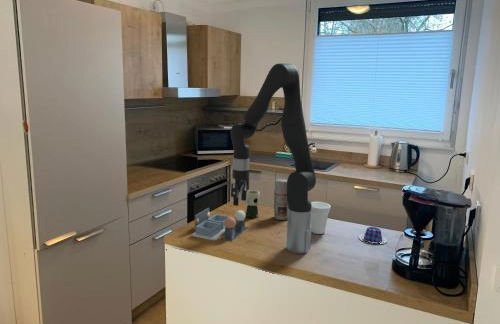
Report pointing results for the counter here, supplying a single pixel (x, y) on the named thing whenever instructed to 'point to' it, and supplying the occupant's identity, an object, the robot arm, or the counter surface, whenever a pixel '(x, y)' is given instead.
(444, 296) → the counter surface
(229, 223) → the terracotta ball
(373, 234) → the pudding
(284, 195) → the spray can
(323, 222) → the cup
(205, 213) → the card
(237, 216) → the cream ball
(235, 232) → the post stand
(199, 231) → the rack
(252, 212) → the character mug
